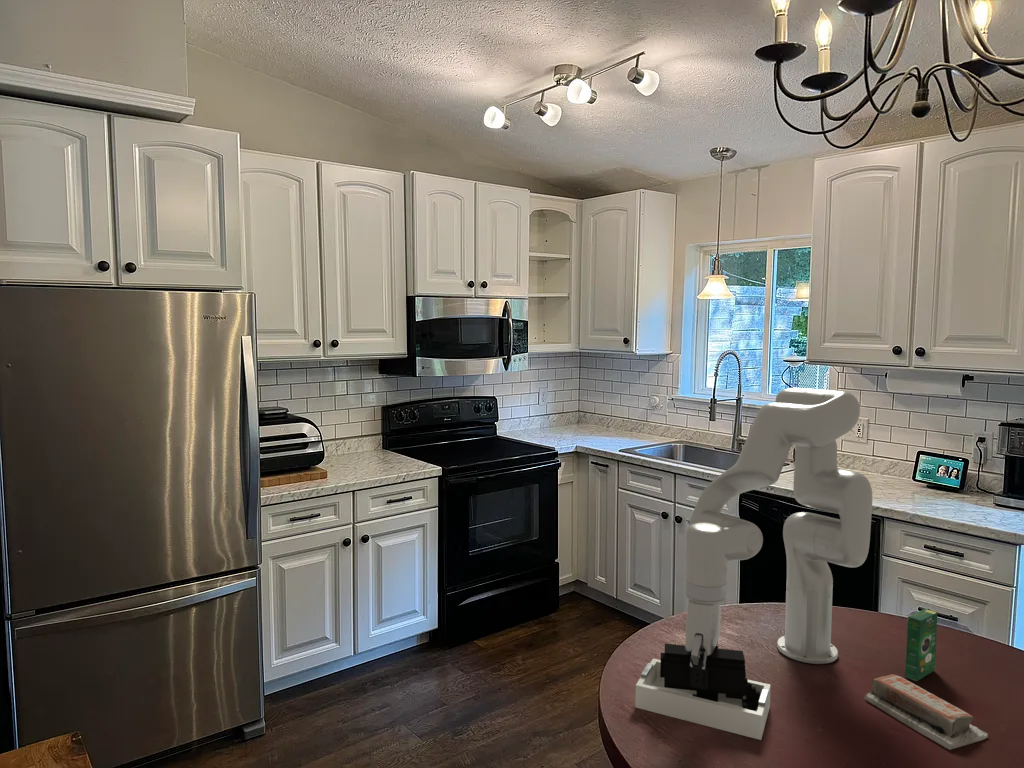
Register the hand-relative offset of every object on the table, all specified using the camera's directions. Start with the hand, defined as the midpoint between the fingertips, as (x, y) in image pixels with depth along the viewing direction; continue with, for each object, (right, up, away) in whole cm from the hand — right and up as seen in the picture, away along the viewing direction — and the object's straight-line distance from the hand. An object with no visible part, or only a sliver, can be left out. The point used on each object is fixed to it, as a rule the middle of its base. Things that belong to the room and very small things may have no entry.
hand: (704, 675), depth 132 cm
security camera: (+1, -5, 0) cm, 6 cm away
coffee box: (+49, -5, +13) cm, 51 cm away
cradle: (0, -6, 0) cm, 6 cm away
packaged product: (+40, -7, -3) cm, 41 cm away
